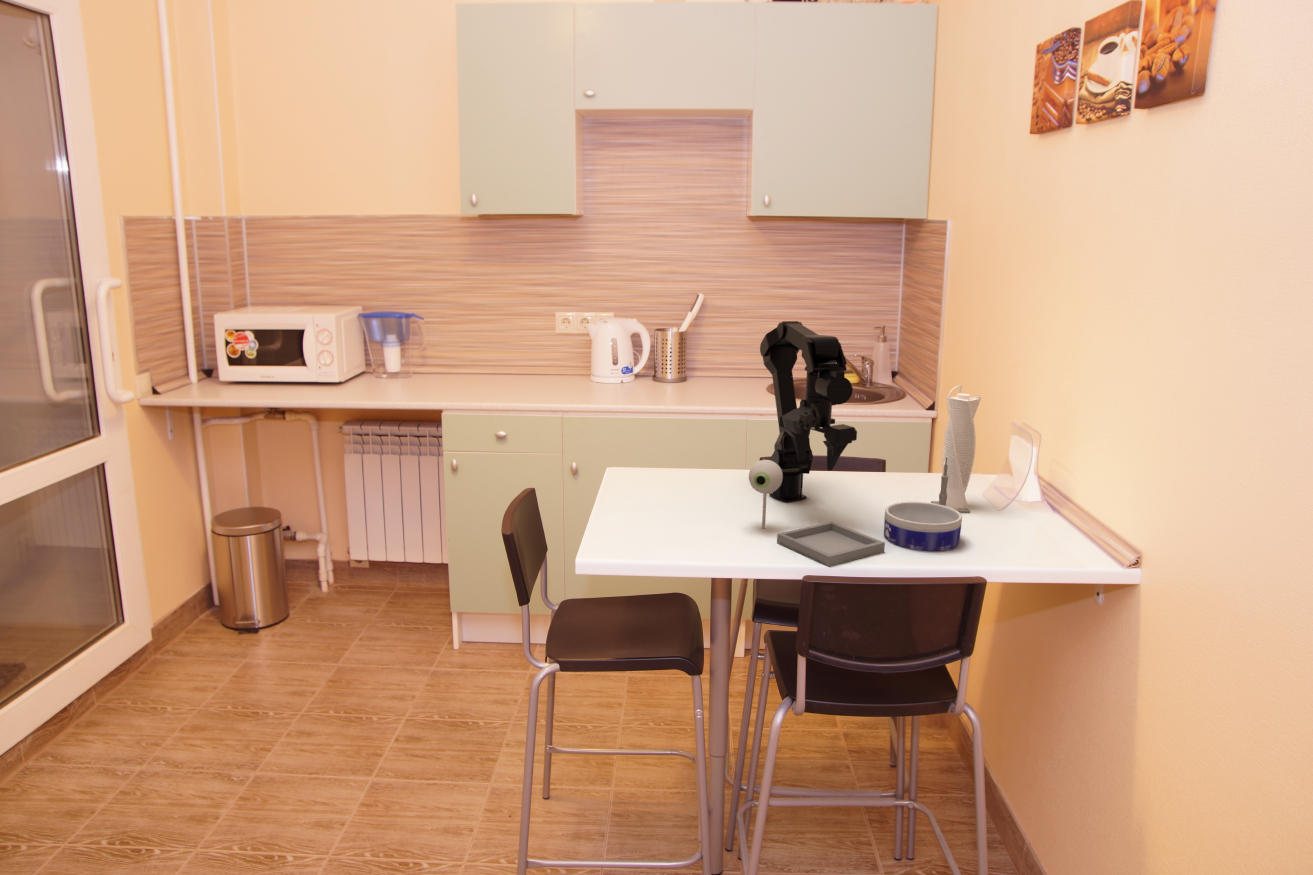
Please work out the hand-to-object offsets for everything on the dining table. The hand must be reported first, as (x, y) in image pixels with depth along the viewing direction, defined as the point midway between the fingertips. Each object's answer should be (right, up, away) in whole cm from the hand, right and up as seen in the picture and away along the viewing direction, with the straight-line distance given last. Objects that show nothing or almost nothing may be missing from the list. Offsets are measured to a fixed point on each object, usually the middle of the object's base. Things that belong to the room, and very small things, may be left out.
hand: (814, 465), depth 199 cm
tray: (0, -16, -16) cm, 22 cm away
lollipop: (-12, -13, -5) cm, 19 cm away
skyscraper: (+34, -10, +12) cm, 37 cm away
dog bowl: (+20, -15, -10) cm, 27 cm away
